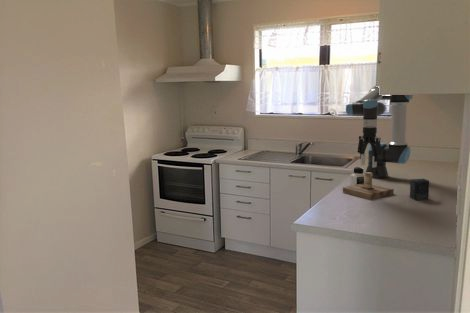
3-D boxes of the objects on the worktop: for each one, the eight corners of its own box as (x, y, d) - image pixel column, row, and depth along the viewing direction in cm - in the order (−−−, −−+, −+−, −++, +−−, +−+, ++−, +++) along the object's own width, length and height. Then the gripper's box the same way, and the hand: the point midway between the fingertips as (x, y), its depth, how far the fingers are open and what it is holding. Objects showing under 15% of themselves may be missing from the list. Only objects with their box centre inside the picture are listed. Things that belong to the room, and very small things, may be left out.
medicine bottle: (356, 188, 241) (357, 169, 239) (350, 185, 247) (350, 167, 245) (366, 187, 242) (367, 168, 241) (360, 184, 249) (360, 166, 247)
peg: (367, 191, 231) (367, 172, 229) (373, 193, 227) (374, 173, 225) (362, 192, 228) (362, 173, 227) (368, 194, 225) (368, 174, 223)
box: (422, 196, 217) (423, 178, 215) (428, 199, 211) (429, 180, 210) (409, 197, 216) (410, 179, 215) (414, 200, 211) (415, 181, 209)
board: (365, 187, 241) (365, 182, 241) (393, 194, 224) (393, 189, 224) (342, 192, 231) (342, 187, 231) (369, 199, 214) (370, 194, 214)
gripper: (351, 126, 228) (350, 164, 232) (380, 128, 211) (378, 169, 215) (360, 125, 232) (359, 163, 236) (389, 127, 215) (387, 168, 218)
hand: (368, 166), depth 225 cm, fingers open, 8 cm apart
